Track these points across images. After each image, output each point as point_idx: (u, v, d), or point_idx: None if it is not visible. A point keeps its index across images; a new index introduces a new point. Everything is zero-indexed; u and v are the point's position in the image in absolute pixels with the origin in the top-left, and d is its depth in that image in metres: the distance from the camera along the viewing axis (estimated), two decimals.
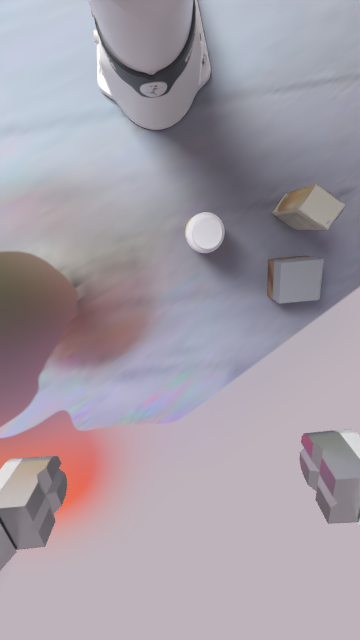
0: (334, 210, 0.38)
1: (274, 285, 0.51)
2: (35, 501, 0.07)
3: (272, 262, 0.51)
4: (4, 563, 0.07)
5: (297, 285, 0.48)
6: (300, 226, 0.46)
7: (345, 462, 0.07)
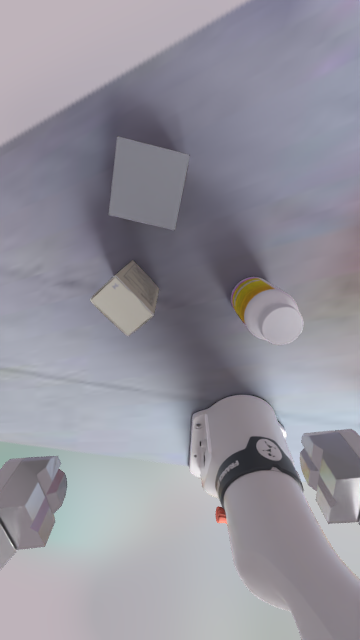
0: (105, 299, 0.27)
1: None
2: (35, 501, 0.07)
3: None
4: (4, 563, 0.07)
5: (153, 180, 0.28)
6: (134, 271, 0.33)
7: (346, 462, 0.07)
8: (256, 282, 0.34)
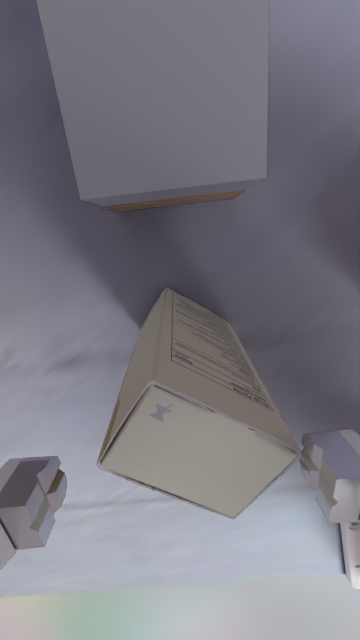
0: (142, 453, 0.08)
1: None
2: (35, 501, 0.07)
3: None
4: (4, 563, 0.07)
5: (171, 41, 0.09)
6: (181, 315, 0.15)
7: (346, 462, 0.07)
8: None
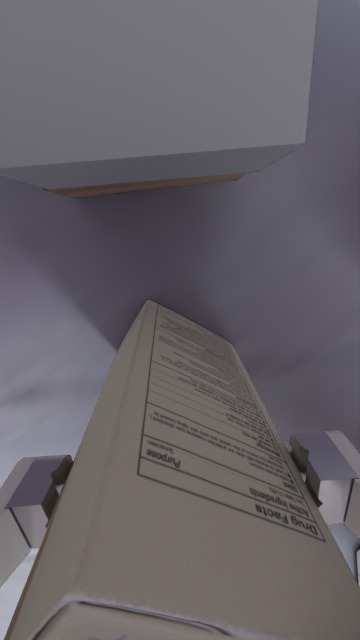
0: None
1: None
2: (50, 500, 0.07)
3: None
4: (19, 562, 0.07)
5: None
6: (167, 345, 0.10)
7: (331, 463, 0.07)
8: None
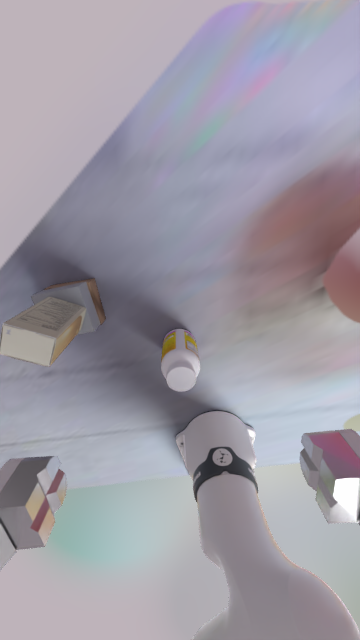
0: (9, 346, 0.29)
1: (90, 300, 0.43)
2: (35, 501, 0.07)
3: (102, 322, 0.46)
4: (4, 563, 0.07)
5: None
6: (43, 307, 0.35)
7: (345, 462, 0.07)
8: (170, 339, 0.45)
